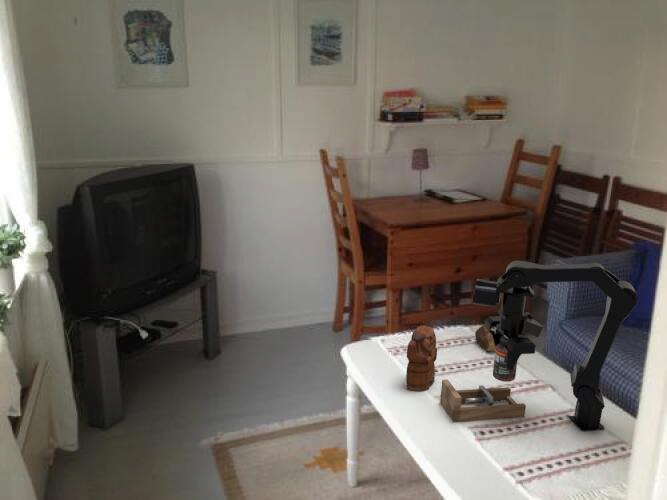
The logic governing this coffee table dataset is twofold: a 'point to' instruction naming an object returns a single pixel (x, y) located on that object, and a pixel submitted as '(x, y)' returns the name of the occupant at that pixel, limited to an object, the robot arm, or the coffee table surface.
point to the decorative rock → (484, 338)
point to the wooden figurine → (421, 359)
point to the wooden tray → (455, 398)
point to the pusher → (482, 397)
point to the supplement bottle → (502, 363)
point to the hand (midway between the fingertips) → (505, 363)
